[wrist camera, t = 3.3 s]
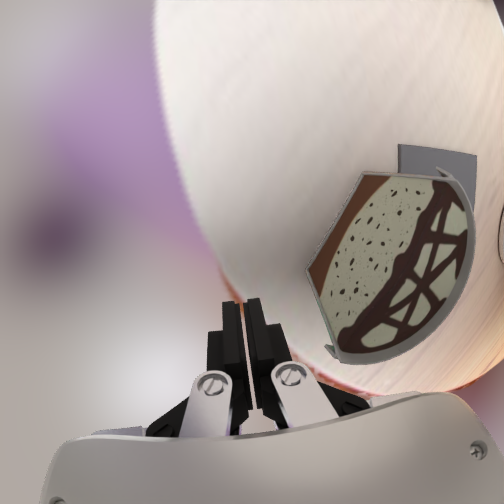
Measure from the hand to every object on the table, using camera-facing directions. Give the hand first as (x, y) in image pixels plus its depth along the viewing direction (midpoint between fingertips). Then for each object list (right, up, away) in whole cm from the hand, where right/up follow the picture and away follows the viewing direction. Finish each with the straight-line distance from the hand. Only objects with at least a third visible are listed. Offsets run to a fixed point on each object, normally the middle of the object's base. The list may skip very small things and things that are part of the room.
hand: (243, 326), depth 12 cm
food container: (+10, +5, +10) cm, 14 cm away
